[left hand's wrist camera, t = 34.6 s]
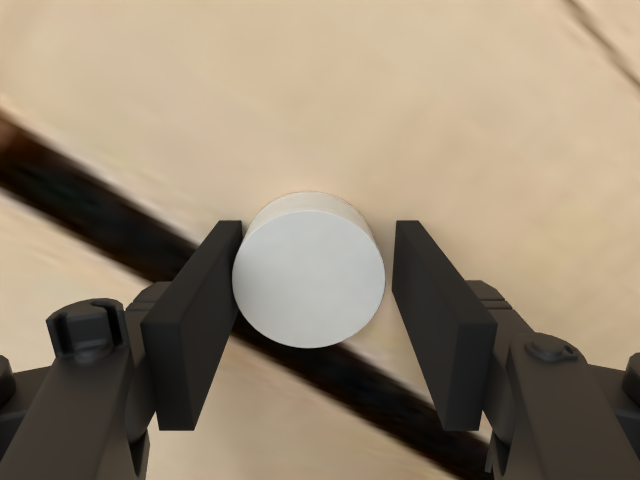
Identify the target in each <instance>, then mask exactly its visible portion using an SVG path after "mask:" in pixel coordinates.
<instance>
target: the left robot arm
mask: <svg viewBox="0 0 640 480" xmlns="http://www.w3.org/2000/svg"><path fill="white" fill-rule="evenodd" d="M242 241H243V240H242V226H241V221H219V222H218V223H217V224H216V226H215V227H214V228H213V229H212V231H211V232H210V233H209V235H208V236H207V237H206V239H205V240H204V241H203V242H202V244H201V245H200V246H199V248H198V249H197V250H196V251H195V253H194V254H193V255H192V257H191V258H190V259H189V260H188V262H187V263H186V264H185V266H184V267H183V268H182V269H181V271H180V272H179V273H178V275H177V276H176V277H175V278H174V280H173V281H172V282H156V283H154V284H153V285H151V286H149V287H147V288H146V289H144V290H142V291H141V292H140V293H139V295H138V296H137V297H136V298H135V299H134V300H133V303H131V304H130V305H129V306H128V307H127V308H126V311H124V309H123V304H122V303H120V302H119V301H117V300H114V299H108V298H97V299H89V300H84V301H79V302H76V303H73V304H70V305H68V306H65V307H63V308H61V309H59V310H58V311H56V312H54V313H53V314H52V315H50V316H49V317H48V318H47V319H46V324H47V327H48V331H49V334H50V338H51V342H52V345H53V349H54V352H55V356H56V358H55V360H54V362H53V364H52V366H48V367H43V368H38V369H33V370H27V371H22V372H17V373H13V372H12V369H11V366H10V363H9V360H8V359H7V358H5V357H4V356H2V355H0V480H145V479H146V471H147V464H148V456H149V448H150V442H149V435H148V430H147V427H148V425H149V423H150V421H151V419H152V417H153V415H154V413H155V411H156V415H157V420H158V426H159V431H194V429H195V426H196V424H197V421H198V418H199V416H200V413H201V410H202V408H203V405H204V402H205V399H206V397H207V394H208V391H209V389H210V386H211V383H212V381H213V378H214V375H215V373H216V370H217V367H218V365H219V362H220V359H221V356H222V354H223V351H224V348H225V346H226V343H227V340H228V338H229V335H230V332H231V330H232V327H233V324H234V321H235V319H236V316H237V313H238V311H239V307H238V305H237V302H236V300H235V297H234V293H233V287H232V270H233V265H234V261H235V258H236V255H237V253H238V250H239V248H240V246H241V244H242ZM392 292H393V295H394V298H395V300H396V303H397V306H398V308H399V311H400V314H401V316H402V319H403V322H404V324H405V327H406V330H407V332H408V335H409V338H410V340H411V343H412V346H413V349H414V351H415V354H416V357H417V359H418V362H419V365H420V367H421V370H422V373H423V375H424V378H425V381H426V383H427V386H428V389H429V391H430V394H431V397H432V400H433V402H434V405H435V408H436V410H437V413H438V416H439V418H440V421H441V424H442V426H443V429H444V431H479V426H480V420H481V415H482V409H483V411H484V413H485V415H486V417H487V419H488V421H489V423H490V425H491V427H492V428H493V430H492V435H491V440H490V445H489V450H488V455H487V460H486V466H485V472H489V473H490V472H491V467H492V464H493V470H494V478H495V480H640V353H635V354H634V355H633V356H631V357H630V358H629V361H628V364H627V368H626V371H622V370H616V369H611V368H606V367H600V366H595V365H590V364H588V363H587V361H586V359H585V357H584V356H583V355H582V354H581V353H580V351H579V350H578V349H577V348H575V347H574V346H572V345H571V344H569V343H568V342H566V341H564V340H562V339H559V338H557V337H554V336H551V335H547V334H543V333H536V332H534V331H533V330H532V329H531V328H530V326H529V325H528V324H527V323H526V322H525V321H524V320H523V319H522V318H521V316H520V315H519V314H518V313H517V312H516V311H515V310H512V306H511V305H510V304H509V303H508V302H507V301H505V299H504V298H503V296H502V295H501V294H500V293H499V292H498V291H497V290H496V289H495V288H493V287H491V286H490V285H488V284H486V283H484V282H483V281H481V280H464V279H463V277H462V276H461V275H460V274H459V272H458V271H457V270H456V268H455V267H454V266H453V265H452V263H451V262H450V261H449V259H448V258H447V257H446V256H445V254H444V253H443V252H442V250H441V249H440V248H439V247H438V245H437V244H436V243H435V241H434V240H433V239H432V238H431V236H430V235H429V234H428V232H427V231H426V230H425V229H424V227H423V226H422V225H421V223H420V222H419V221H397V224H396V238H395V252H394V266H393V280H392Z"/></svg>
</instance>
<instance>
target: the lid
mask: <svg viewBox="0 0 640 480" xmlns="http://www.w3.org/2000/svg"><path fill="white" fill-rule="evenodd" d="M385 281H386V275H385V267H384V263H383V259H382V256H381V254H380V252H379V249H378V247H377V244H376V242H375V240H374V237H373V235H372V233H371V230H370V228H369V226H368V224H367V223H366V221H365V219H364V218H363V217H362V215H361V214H360V213H359V212H358V211H357V210H356V209H355V208H354V207H353V206H351V205H350V204H348V203H347V202H345V201H344V200H342V199H340V198H338V197H335V196H333V195H330V194H326V193H322V192H313V191H306V192H297V193H292V194H288V195H285V196H283V197H280V198H278V199H276V200H274V201H273V202H271V203H269V204H268V205H267V206H266V207H264V208H263V209H262V210H261V211H260V212H259V213H258V214H257V215H256V217H255V218H254V219H253V221H252V222H251V224H250V226H249V228H248V230H247V232H246V235H245V237H244V239H243V241H242V244H241V246H240V248H239V250H238V253H237V255H236V258H235V261H234V265H233V270H232V287H233V293H234V297H235V300H236V302H237V305H238V307H239V309H240V310H241V312H242V314H243V315H244V317H245V318H246V319H247V321H248V322H249V323H250V324H251V325H252V326H253V327H254V328H255V329H256V330H258V331H259V332H260V333H262V334H263V335H265V336H266V337H268V338H270V339H272V340H274V341H276V342H279V343H282V344H285V345H288V346H293V347H300V348H317V347H325V346H329V345H333V344H336V343H338V342H341V341H343V340H345V339H347V338H349V337H351V336H353V335H354V334H356V333H357V332H359V331H360V330H361V329H362V328H363V327H364V326H365V325H366V324H367V323H368V322H369V321H370V320H371V319H372V317H373V316H374V314H375V313H376V311H377V309H378V308H379V306H380V304H381V301H382V298H383V295H384V290H385Z"/></svg>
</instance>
